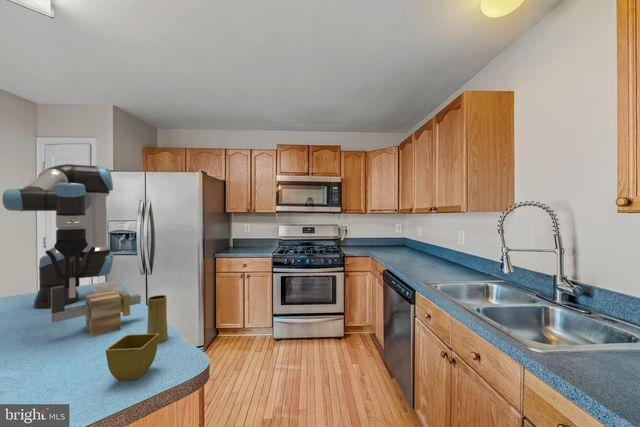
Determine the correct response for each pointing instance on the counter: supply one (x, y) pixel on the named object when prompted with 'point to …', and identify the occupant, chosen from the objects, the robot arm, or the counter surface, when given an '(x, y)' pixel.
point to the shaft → (67, 313)
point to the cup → (108, 286)
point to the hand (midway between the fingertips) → (71, 296)
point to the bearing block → (103, 312)
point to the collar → (125, 303)
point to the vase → (157, 317)
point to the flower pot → (132, 356)
